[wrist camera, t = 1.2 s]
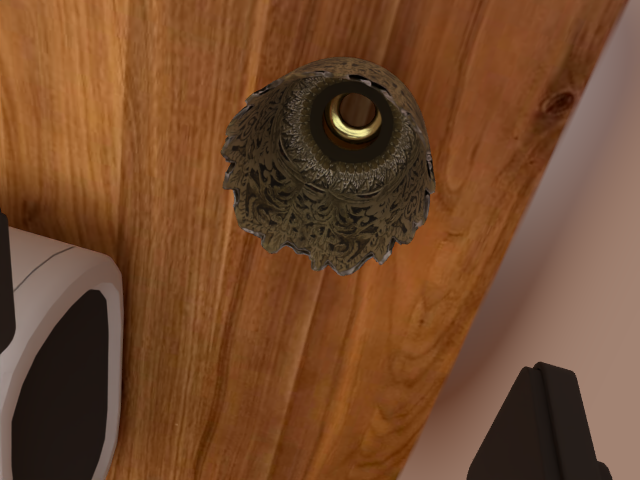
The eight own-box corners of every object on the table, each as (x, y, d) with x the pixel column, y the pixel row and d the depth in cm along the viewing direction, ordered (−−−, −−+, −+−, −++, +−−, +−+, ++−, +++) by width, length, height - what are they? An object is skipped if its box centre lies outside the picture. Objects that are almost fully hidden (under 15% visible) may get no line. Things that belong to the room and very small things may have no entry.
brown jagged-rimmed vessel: (255, 141, 29) (191, 219, 22) (314, -8, 25) (260, 32, 18) (393, 209, 29) (372, 306, 23) (474, 73, 26) (477, 142, 19)
